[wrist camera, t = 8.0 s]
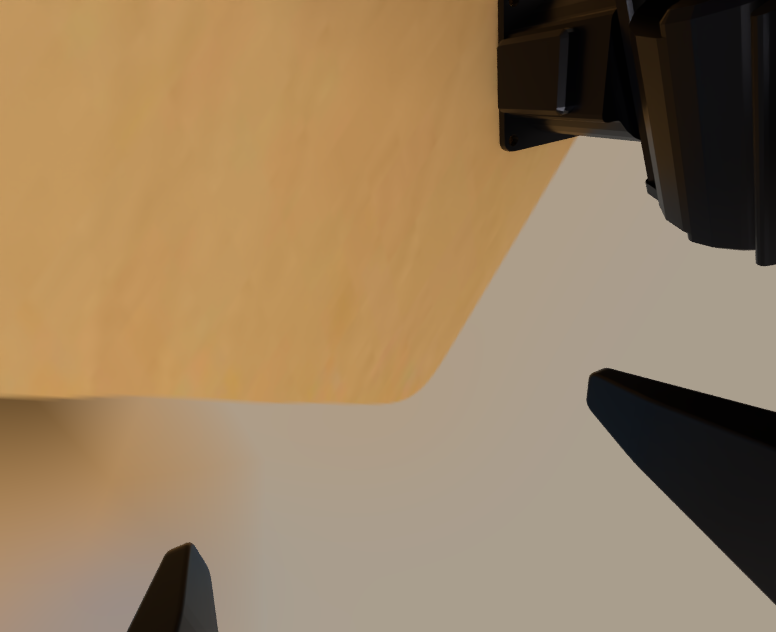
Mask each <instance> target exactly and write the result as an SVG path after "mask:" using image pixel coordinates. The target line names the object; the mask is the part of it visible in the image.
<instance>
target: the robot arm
mask: <svg viewBox="0 0 776 632" xmlns="http://www.w3.org/2000/svg"><path fill="white" fill-rule="evenodd" d="M497 69H498V108H499V131H500V146H501V148H502V149H503V150H505V151H517V150H521V149H526V148H530V147H534V146H538V145H542V144H547V143H551V142H555V141H559V140H563V139H567V138H572V137H576V136H590V137H601V138H610V139H620V140H630V141H639V142H641V144H642V150H643V155H644V160H645V166H646V171H647V177H648V179H647V180H646V187H647V192H648V194H650V195H651V196H652V197H654V198H655V199H657V200H658V202H659V206H660V208H661V210H662V212H663V214H664V216H665V218H666V220H668V221H669V222H671V223H672V224H673V225H675V226H677V227H678V228H679V229H681V230H682V231H684V232H686V233H687V234H688V238H689V240H690V241H692V242H695V243H699V244H702V245H706V246H710V247H715V248H722V249H733V250H756V263H757V264H758V265H760V266H769V265H775V264H776V0H513V5H512V6H510V4H509V0H498V47H497ZM511 136H512V137H513V141H512V143H511V144H509V138H510V137H511ZM586 400H587V405H588V406H589V408H590V410H591V411H592V413H593V414H594V415H595V416H596V417H597V419H598V420H599V421H600V422H601V423H602V425H603V426H604V427H605V428H606V429H607V431H608V432H609V433H610V434H611V436H612V437H613V438H614V439H615V440H616V442H617V443H618V444H619V445H620V446H621V448H622V449H623V450H624V451H625V452H626V454H627V455H628V456H629V457H630V458H631V459H632V460H633V462H634V463H635V464H636V465H637V466H638V467H639V468H640V469H641V470H642V471H643V472H644V473H645V474H646V475H647V476H648V477H649V478H650V479H651V480H652V481H653V482H654V483H655V484H656V485H657V486H658V487H659V488H660V489H661V490H662V491H663V492H664V493H665V494H666V495H667V496H668V497H669V498H670V499H671V500H672V501H673V502H674V503H675V504H676V505H677V506H678V507H679V508H680V509H681V510H682V511H683V512H684V513H685V514H686V515H687V516H688V517H689V518H690V519H691V520H692V521H693V522H694V523H695V524H696V525H697V526H698V527H699V528H700V529H701V530H702V531H703V532H704V533H705V534H706V535H707V536H708V537H709V538H710V539H711V540H712V541H713V542H714V543H715V544H716V545H717V546H718V547H719V548H720V549H721V550H722V551H723V552H724V553H725V554H726V555H727V556H728V557H729V558H730V560H731V561H733V562H734V564H735V565H736V566H737V567H739V569H741V571H742V572H744V573H745V575H746V576H747V577H748V578H750V580H751V581H753V583H754V584H755V585H756V586H757V587H758V588H759V589H760V590H761V591H762V592H763V593H764V594H765V595H766V596H768V598H769V599H770V600H771V601H772V602H773V603H774V604H775V605H776V412H774V411H770V410H766V409H762V408H758V407H754V406H751V405H747V404H743V403H739V402H736V401H732V400H728V399H724V398H721V397H716V396H713V395H709V394H705V393H701V392H698V391H693V390H690V389H686V388H682V387H678V386H675V385H671V384H667V383H663V382H660V381H655V380H652V379H648V378H644V377H641V376H637V375H633V374H629V373H625V372H622V371H618V370H614V369H610V368H604V369H601V370H599V371H596V372H594V373H592V374H591V375H590V377H589V382H588V390H587V399H586ZM127 632H218V627H217V620H216V613H215V605H214V598H213V590H212V582H211V576H210V572H209V569H208V567H207V565H206V563H205V562H204V560H203V558H202V557H201V555H200V554H199V552H198V550H197V549H196V547H195V546H194V545H193V544H192V543H190V542H189V543H185V544H183V545H180V546H178V547H176V548H173V549H171V550H169V551H168V552H167V553H166V554H165V556H164V558H163V560H162V562H161V564H160V566H159V568H158V570H157V572H156V574H155V576H154V578H153V580H152V582H151V584H150V586H149V588H148V590H147V592H146V594H145V596H144V598H143V600H142V602H141V604H140V606H139V608H138V610H137V612H136V614H135V616H134V618H133V620H132V622H131V624H130V627H129V628H128V631H127Z"/></svg>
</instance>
